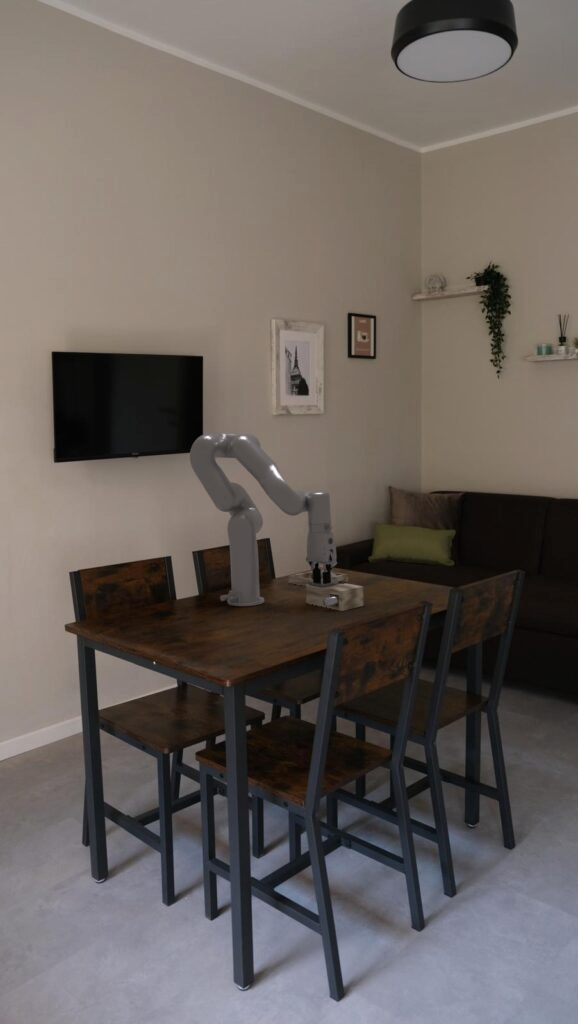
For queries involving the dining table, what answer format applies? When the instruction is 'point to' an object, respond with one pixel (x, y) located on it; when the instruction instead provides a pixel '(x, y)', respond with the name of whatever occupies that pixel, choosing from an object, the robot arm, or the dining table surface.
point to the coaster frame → (306, 577)
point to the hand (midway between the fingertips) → (322, 581)
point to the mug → (322, 572)
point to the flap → (320, 583)
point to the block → (347, 595)
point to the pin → (331, 601)
